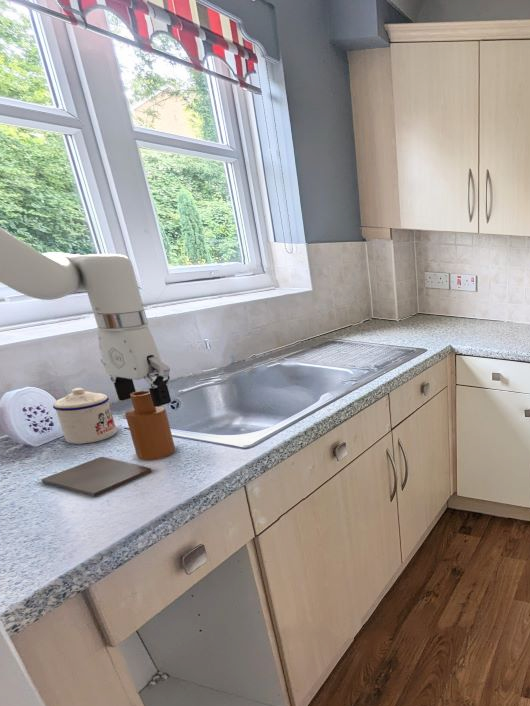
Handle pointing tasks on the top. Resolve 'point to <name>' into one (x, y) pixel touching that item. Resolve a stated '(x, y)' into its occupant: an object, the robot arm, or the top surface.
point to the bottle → (149, 428)
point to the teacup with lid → (85, 416)
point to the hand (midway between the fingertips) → (145, 401)
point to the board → (96, 476)
